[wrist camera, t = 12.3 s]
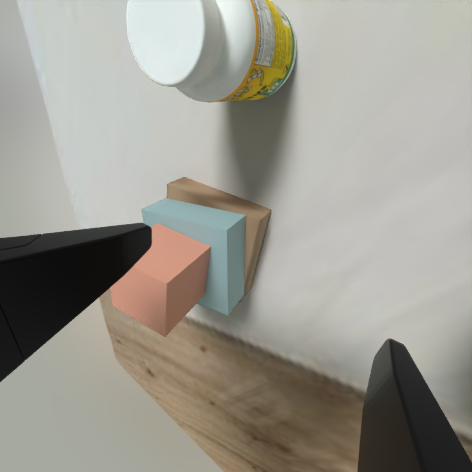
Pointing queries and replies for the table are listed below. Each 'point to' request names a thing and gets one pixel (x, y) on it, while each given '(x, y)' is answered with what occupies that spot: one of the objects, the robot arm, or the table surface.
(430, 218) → the table surface
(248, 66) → the supplement bottle
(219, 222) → the tower top
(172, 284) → the brick cube
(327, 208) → the table surface
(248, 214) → the tower base
